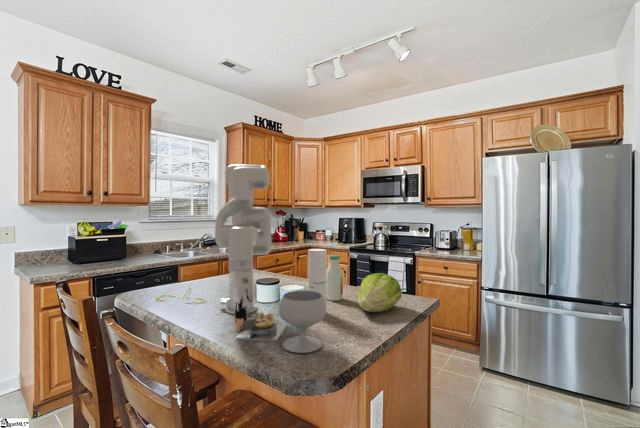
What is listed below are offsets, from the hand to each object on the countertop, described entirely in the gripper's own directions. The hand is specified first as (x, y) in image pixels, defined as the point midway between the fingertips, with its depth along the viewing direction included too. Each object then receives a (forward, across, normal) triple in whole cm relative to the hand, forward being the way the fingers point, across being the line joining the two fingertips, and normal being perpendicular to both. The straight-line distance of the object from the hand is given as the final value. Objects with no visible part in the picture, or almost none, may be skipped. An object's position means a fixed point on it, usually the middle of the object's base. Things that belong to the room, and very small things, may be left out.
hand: (240, 322), depth 103 cm
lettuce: (+5, +2, -56) cm, 56 cm away
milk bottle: (+5, +24, -50) cm, 56 cm away
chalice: (+4, -16, -14) cm, 22 cm away
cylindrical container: (+5, +10, -33) cm, 34 cm away
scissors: (+5, +56, +12) cm, 57 cm away
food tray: (+2, -1, -4) cm, 5 cm away
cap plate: (+4, 0, -7) cm, 8 cm away
